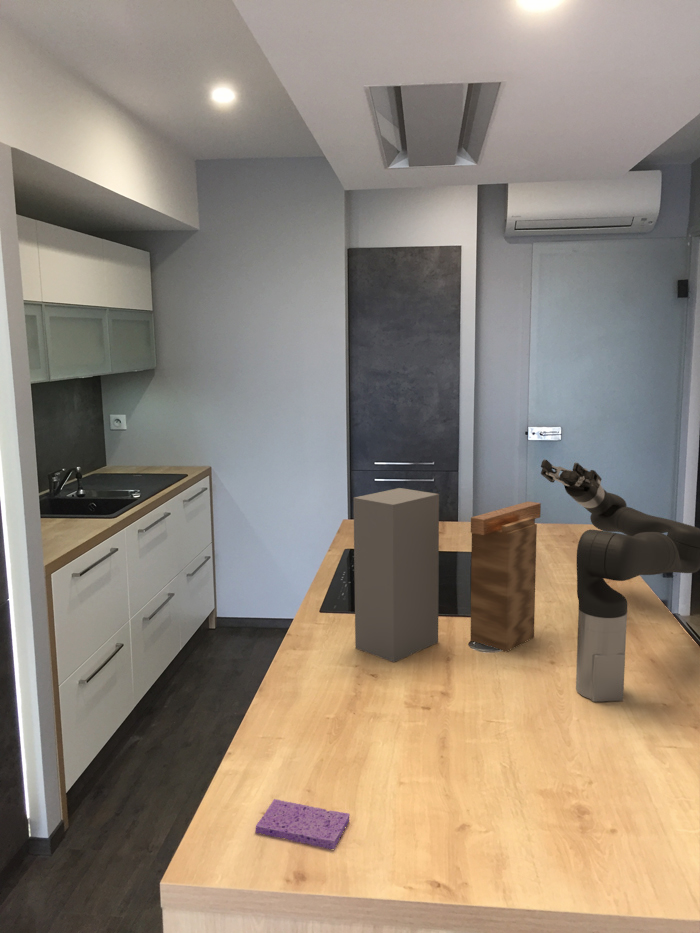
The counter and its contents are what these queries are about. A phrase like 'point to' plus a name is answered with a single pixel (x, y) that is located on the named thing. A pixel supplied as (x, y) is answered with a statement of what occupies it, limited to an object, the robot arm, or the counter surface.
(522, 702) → the counter surface
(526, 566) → the wood grain block
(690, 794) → the counter surface
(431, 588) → the stand
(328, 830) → the sponges
